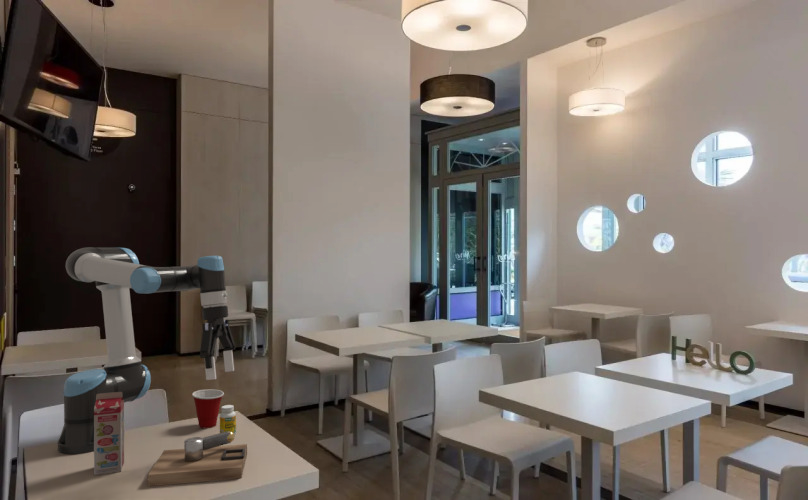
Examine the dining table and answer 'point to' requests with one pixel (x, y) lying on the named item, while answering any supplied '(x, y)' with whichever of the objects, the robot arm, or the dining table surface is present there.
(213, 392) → the plastic cup
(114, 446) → the juice carton
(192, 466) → the lever stand
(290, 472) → the dining table surface
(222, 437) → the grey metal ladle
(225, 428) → the supplement bottle
